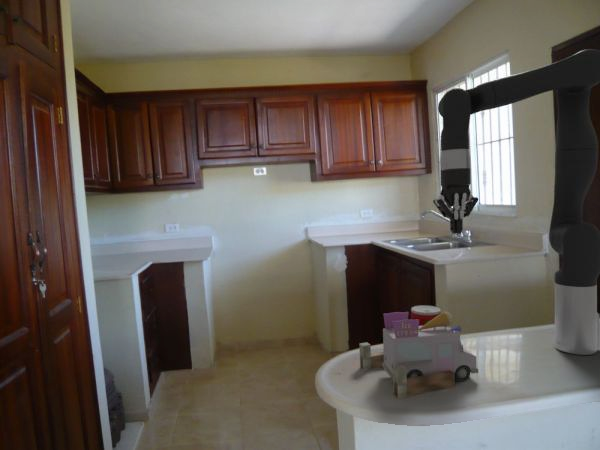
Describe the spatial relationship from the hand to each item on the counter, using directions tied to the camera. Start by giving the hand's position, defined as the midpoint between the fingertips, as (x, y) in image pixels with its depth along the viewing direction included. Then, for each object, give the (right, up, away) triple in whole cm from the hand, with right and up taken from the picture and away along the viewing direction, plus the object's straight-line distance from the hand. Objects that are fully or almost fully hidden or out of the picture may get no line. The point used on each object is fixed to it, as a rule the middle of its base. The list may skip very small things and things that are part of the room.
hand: (456, 233), depth 116 cm
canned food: (-7, -32, +2) cm, 32 cm away
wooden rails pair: (-17, -33, -15) cm, 40 cm away
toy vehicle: (-12, -33, -16) cm, 39 cm away
